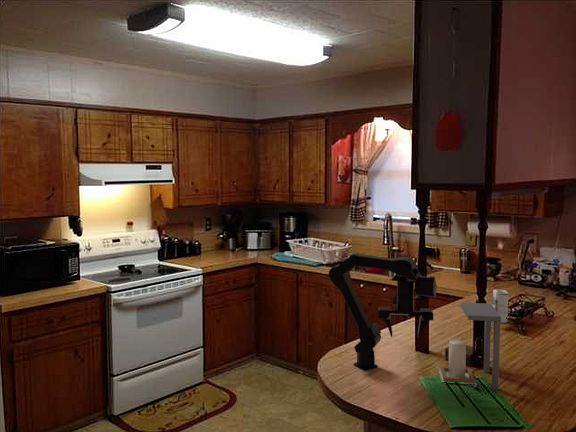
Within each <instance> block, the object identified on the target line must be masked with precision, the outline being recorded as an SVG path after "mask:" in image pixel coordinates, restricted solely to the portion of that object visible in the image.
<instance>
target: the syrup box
mask: <svg viewBox="0 0 576 432" xmlns="http://www.w3.org/2000/svg"><path fill="white" fill-rule="evenodd" d="M492 291H493V293H492V306H493V307H494V308H495V310H496V311H497V312H498V313H499V315H500V316H501V321H500V324H502V323H503V324H504V323H505V324H507V323H508V316H509V315H508V313H509V311H508V310H509V292H508V291H507V290H505V289H493V290H492ZM506 317H507V319H506Z"/></svg>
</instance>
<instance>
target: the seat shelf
mask: <svg viewBox="0 0 576 432" xmlns="http://www.w3.org/2000/svg"><path fill="white" fill-rule="evenodd" d="M460 307H461V309H462V311H463V313H464V314H465V316H466V318H467V320H468V321H482V322H483V321H484V339H483V340H484V341H483V342H484V344H483V349H484V350H483V373H485V374H489V373H490V370H492V371H491V389H492V390H495V391H498V390H499V377H500V375H499V374H500V372H499V371H500V343H501V342H500V341H501V339H500V338H501V323H500V321H501V316H500V315H499V313H498V312H497V311H496V310H495V308H494V307H493V303H483V302H481V303H480V302H461V303H460ZM492 322H493V328H492ZM492 329H493V333H491V332H492V331H491V330H492ZM491 335H492V336H493V337H491ZM491 338H492V366H491V365H490V364H491ZM490 366H491V367H490ZM448 368H449V366H440V369H438V372H439V376H440V380H441V379H442V380H441V383H442V382H448V381H449V382H464V383H468V384H475V385H474V386H477V385H478V384H477V381H476V380H475V377H474V375H473V372H472V370H471V367H466V372H465V378H456V377H449V376H448ZM490 368H492V369H490Z"/></svg>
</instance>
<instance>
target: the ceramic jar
mask: <svg viewBox="0 0 576 432" xmlns="http://www.w3.org/2000/svg"><path fill="white" fill-rule="evenodd" d="M466 359H467V342H465V341H464V340H461V339H451V340H449V341H448V367H449V368H448V376H449V377H456V378H465V372H466V368H467V366H466V364H467V361H466Z"/></svg>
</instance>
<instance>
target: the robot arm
mask: <svg viewBox="0 0 576 432" xmlns="http://www.w3.org/2000/svg"><path fill="white" fill-rule="evenodd" d="M356 266H359V267H363V268H364V267H365V268H373V269H379V270H385V271H389V272H390V273H392V274H394V276H393V277H391V279H390V281H392V282H393V281H394V282H396V296H395V295H392V306H396V309H390V306H379V307H377V309H378V310H377V311H378V312H377V317H378V319H381V321H382V322H385V324H386V326H387V329H388V331H389V334H390V338H393V327H392V320H391V319H392V318H391V316H397V317H398V316H399V317H400V316H401V317H418V318H419V320H418V321H419V322H418V328H417V339H420V337H421V334H422V333H423V330H424V328H425V326H426V324H427V323H428V324H429V323H430V321H434V312H433V311H434V310H433V309H432V308H428V307H427V308H425V307H421V308H420V310H415V309H414V308H415V307H414V305H415V304H414V303H415V301H414V297H415V294H417V295H418V296H422V297H423V296H424V297H430V298H431V297H433V298H435V297H436V296H437V291H438V288H437V287H438V285H437V281H436V280H437V279H436V277H435V276H432V275H431V276H426V275H422V273H421V272H420V270H419V269H418V267H416V262H415V260H414V259H413V258H412V257H410V256H403V257H402V256H400V257H391V258H390V257H383V256H382V257H381V256H375V255H368V254H361V253H357V252H355V253H353V254H351V255H349V257H348V258H347V259H345V260H344V261H343V262H341V263H339V264H337V265H335V266H333V267H331V268H330V269H329V272H328V275H327V276H328V278H329V279H330V281H331V283H332V284H333V286H334V287H336V289H338V290H339V291H340V293H341V295H342V297H343V299H344V301H345V303H346V305H347V307H348V309H349V311H350V314H351V315H352V317H353V319H354V321H355V324H356V326H357V332H358V337H359V342H357V344H356V345H354V346H353V348H354V351H355V353H356V362H353V366H356V367H357V368H359V369H360V370H362V371H367V370H370V369H375V368H378V365H377V364H376V363H375V361H376V359H375V350H374V348H375V347H377V345H378V344H379V343H380V342H381V339H382V335H381V333H382V331H381V330H380V328H379V325H378V323H377V322H375V323H372V322H371V320H370V319H369V318H368V316H367V314H366V311H365V310H364V307H363V305H362V303H361V302H360V299H359V297H358V295H357V293H356V291H355V289H354V287H353V285H352V275H351V271H352V270H354V268H355V267H356Z"/></svg>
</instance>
